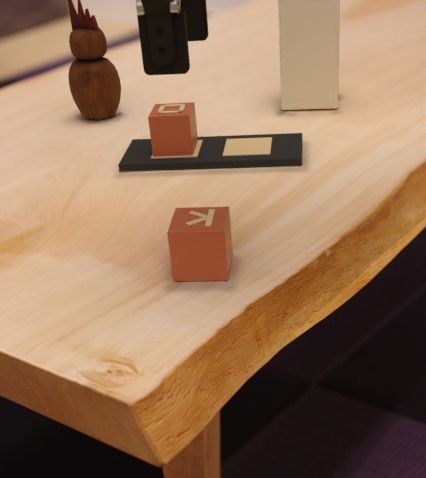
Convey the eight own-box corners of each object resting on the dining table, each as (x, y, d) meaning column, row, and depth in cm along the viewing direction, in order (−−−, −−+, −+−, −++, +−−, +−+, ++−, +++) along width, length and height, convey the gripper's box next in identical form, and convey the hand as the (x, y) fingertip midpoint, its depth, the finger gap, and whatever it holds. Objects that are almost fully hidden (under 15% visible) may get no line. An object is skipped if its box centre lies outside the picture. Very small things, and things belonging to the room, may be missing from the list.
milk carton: (337, 109, 94) (339, -58, 83) (281, 111, 95) (276, -54, 85) (338, 93, 100) (340, -66, 89) (285, 94, 101) (281, -62, 91)
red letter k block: (232, 254, 64) (229, 204, 61) (228, 280, 60) (224, 229, 57) (180, 255, 64) (175, 206, 62) (173, 281, 60) (166, 230, 58)
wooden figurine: (68, 116, 100) (46, -3, 92) (104, 105, 103) (85, -11, 95) (95, 126, 96) (74, 2, 87) (131, 115, 98) (114, -7, 90)
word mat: (302, 139, 86) (302, 131, 85) (301, 165, 79) (301, 157, 79) (133, 145, 88) (132, 138, 88) (119, 171, 82) (117, 163, 81)
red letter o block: (198, 141, 85) (194, 101, 83) (192, 155, 82) (189, 113, 79) (159, 142, 86) (154, 102, 84) (152, 156, 82) (147, 115, 80)
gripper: (190, -241, 39) (213, 87, 48) (226, -223, 53) (239, 28, 63) (53, -227, 40) (102, 91, 49) (125, -212, 54) (152, 32, 64)
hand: (178, 55), depth 56 cm, fingers open, 9 cm apart
